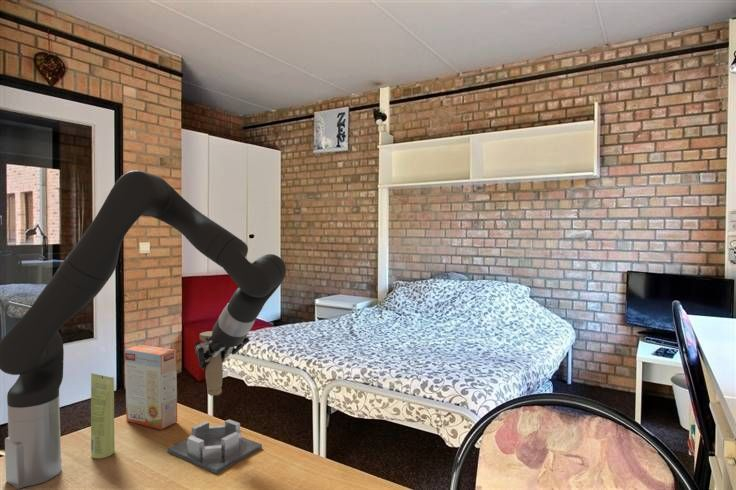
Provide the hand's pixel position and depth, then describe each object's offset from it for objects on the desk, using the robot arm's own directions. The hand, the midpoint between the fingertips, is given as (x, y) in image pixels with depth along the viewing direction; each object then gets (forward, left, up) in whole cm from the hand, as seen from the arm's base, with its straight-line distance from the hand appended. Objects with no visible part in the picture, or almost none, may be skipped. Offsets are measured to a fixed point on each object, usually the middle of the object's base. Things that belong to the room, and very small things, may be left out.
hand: (209, 364), depth 113 cm
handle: (0, -2, -7) cm, 7 cm away
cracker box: (+1, +26, -21) cm, 34 cm away
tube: (-16, +19, -21) cm, 33 cm away
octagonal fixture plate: (0, -2, -21) cm, 21 cm away
